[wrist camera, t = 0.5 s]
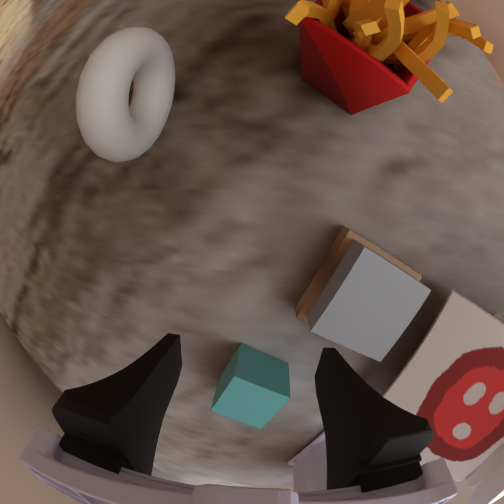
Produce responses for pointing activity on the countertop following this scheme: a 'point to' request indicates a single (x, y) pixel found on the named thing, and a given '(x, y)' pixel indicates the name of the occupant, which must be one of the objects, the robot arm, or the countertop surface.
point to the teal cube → (252, 387)
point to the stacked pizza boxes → (460, 394)
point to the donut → (125, 93)
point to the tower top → (366, 303)
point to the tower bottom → (331, 265)
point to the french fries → (375, 48)
